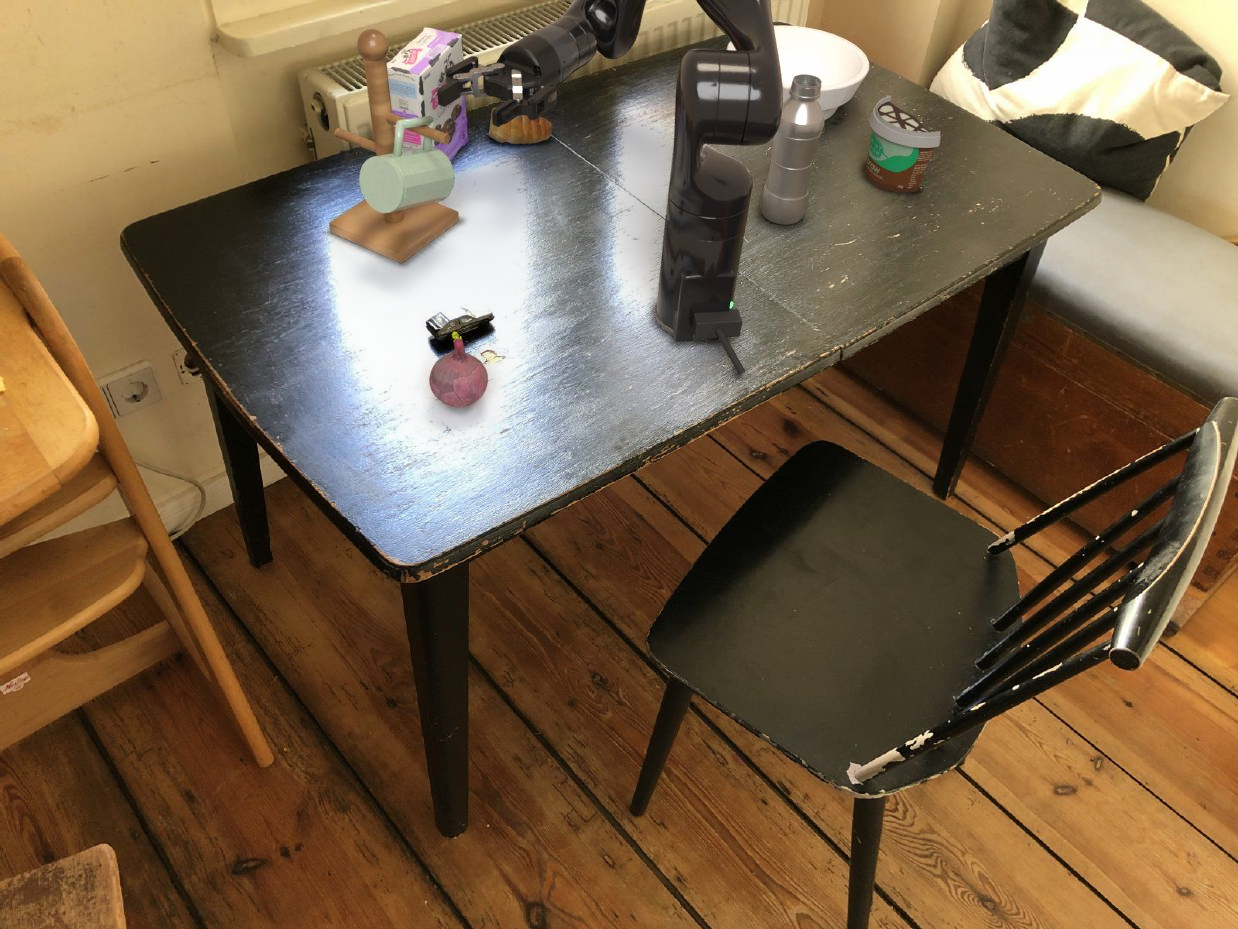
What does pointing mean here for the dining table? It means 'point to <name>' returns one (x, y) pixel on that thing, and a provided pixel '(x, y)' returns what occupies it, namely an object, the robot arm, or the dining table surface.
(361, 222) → the mug tree
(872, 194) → the dining table surface
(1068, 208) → the dining table surface
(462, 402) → the vegetable
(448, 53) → the candy box
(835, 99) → the bowl
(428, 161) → the mug
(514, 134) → the pastry
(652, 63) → the dining table surface
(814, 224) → the dining table surface
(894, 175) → the food container
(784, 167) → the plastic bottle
